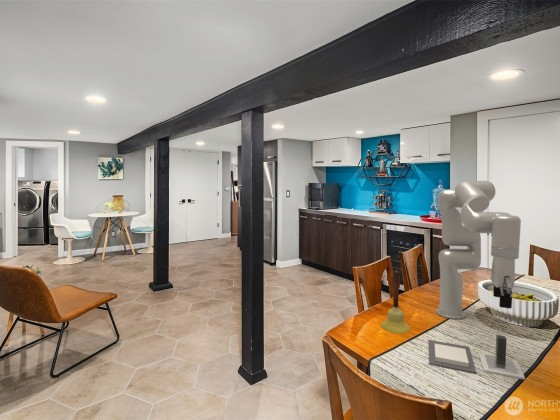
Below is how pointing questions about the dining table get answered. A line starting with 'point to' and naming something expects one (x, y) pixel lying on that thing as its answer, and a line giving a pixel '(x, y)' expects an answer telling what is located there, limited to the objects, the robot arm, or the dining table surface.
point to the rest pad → (486, 369)
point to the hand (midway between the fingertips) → (501, 302)
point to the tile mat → (451, 366)
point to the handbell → (395, 311)
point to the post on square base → (500, 357)
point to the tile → (451, 355)
